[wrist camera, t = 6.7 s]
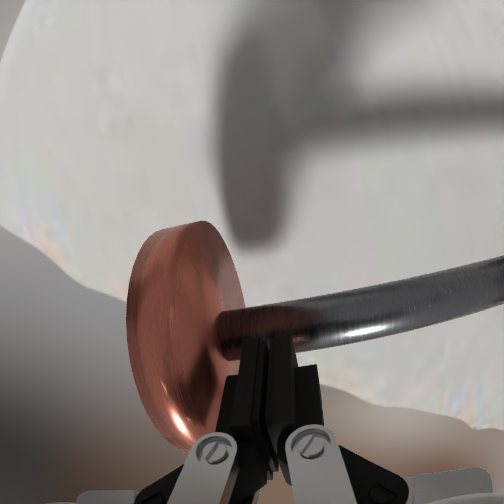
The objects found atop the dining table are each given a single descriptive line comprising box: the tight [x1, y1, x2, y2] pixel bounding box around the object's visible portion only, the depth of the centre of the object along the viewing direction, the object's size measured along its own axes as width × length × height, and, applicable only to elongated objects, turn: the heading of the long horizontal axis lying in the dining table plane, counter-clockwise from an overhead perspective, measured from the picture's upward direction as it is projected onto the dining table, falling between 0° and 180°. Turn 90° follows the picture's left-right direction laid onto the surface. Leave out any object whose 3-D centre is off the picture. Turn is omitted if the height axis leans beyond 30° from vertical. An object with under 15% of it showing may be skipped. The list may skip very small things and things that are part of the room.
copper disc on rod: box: [126, 221, 504, 451], centre depth 12 cm, size 10×21×10 cm, turn 103°
